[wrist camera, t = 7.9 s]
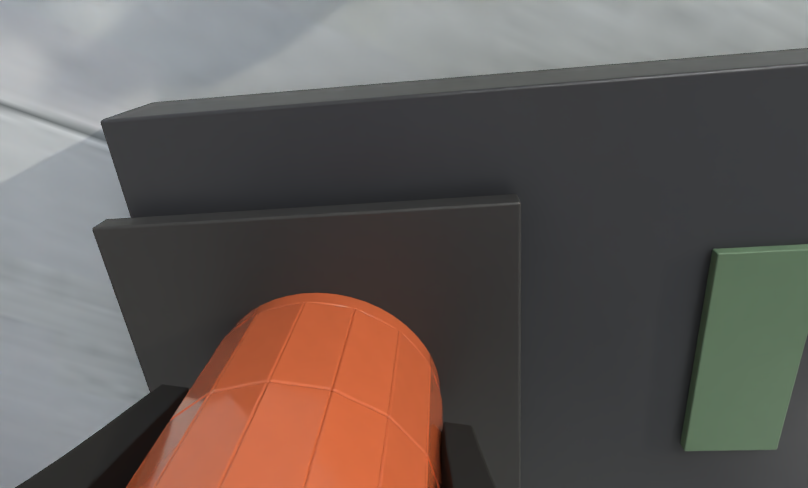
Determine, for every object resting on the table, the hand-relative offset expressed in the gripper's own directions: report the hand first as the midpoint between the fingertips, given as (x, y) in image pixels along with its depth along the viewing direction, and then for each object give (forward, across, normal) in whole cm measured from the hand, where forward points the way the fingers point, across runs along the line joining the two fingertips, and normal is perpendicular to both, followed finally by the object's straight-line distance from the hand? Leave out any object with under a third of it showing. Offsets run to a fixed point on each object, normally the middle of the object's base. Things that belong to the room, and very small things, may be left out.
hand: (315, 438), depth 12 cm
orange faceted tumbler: (+2, 0, 0) cm, 2 cm away
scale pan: (+2, 0, 0) cm, 2 cm away
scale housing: (+5, -4, -1) cm, 7 cm away
